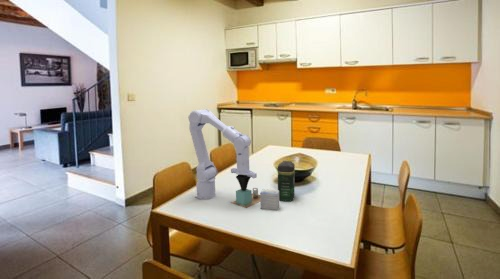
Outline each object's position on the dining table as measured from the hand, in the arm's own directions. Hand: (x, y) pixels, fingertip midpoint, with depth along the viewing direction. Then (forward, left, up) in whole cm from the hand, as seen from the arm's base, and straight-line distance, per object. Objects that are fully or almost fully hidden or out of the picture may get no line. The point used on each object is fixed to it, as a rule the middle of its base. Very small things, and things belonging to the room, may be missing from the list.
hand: (243, 190), depth 140 cm
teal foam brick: (0, 0, -6) cm, 6 cm away
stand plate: (0, +4, -7) cm, 8 cm away
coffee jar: (+12, +17, -7) cm, 22 cm away
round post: (0, +8, -6) cm, 10 cm away
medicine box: (+13, +3, -7) cm, 15 cm away
